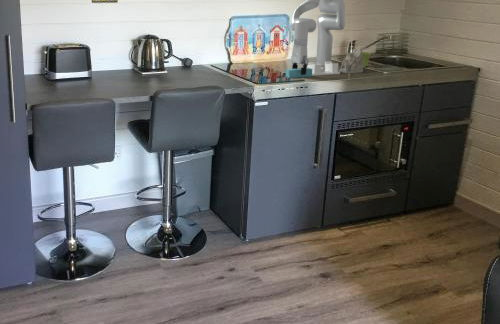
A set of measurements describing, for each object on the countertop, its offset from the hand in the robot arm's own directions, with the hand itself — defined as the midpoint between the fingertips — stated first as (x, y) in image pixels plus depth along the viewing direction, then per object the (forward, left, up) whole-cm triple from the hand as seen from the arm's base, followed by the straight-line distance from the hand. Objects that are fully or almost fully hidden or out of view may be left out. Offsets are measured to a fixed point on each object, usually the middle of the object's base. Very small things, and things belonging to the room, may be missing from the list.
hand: (299, 73), depth 326 cm
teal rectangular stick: (0, 0, -2) cm, 2 cm away
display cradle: (-5, +19, -2) cm, 20 cm away
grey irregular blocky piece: (-8, +40, -2) cm, 41 cm away
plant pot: (-18, +57, -2) cm, 60 cm away
